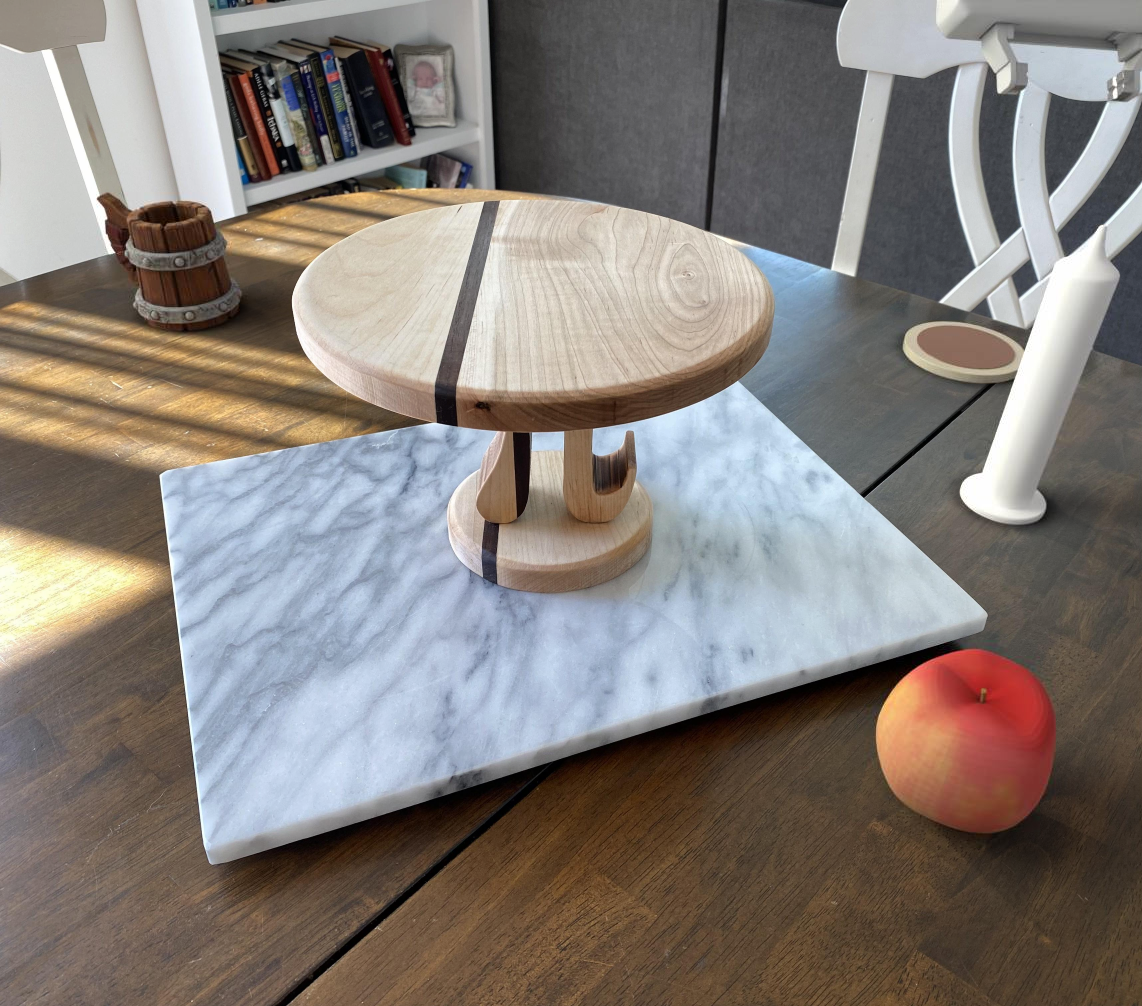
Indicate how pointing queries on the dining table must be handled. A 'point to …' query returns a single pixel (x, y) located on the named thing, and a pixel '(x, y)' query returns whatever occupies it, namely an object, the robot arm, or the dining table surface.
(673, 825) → the dining table surface
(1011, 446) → the candle
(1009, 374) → the coaster
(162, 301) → the mug
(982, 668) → the apple
